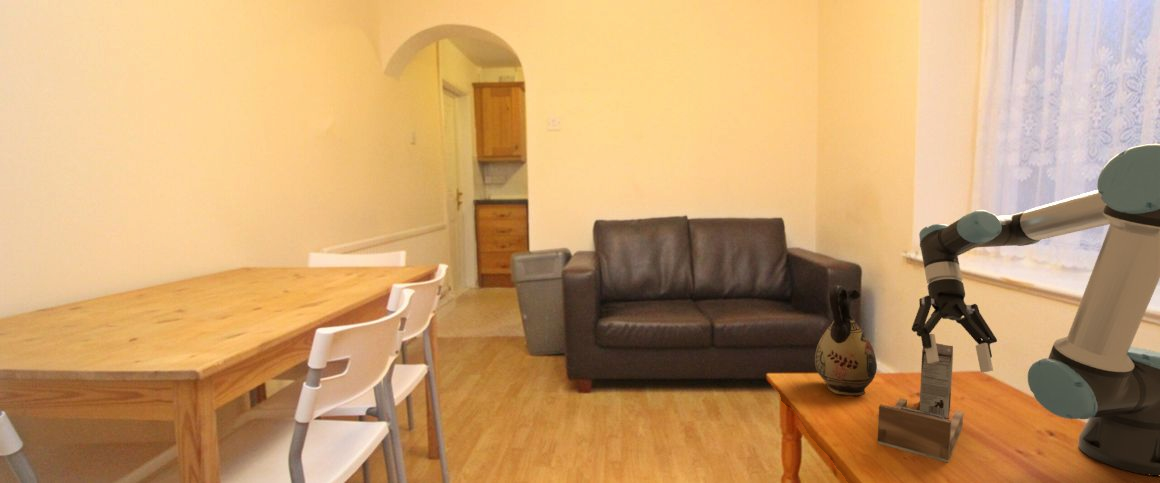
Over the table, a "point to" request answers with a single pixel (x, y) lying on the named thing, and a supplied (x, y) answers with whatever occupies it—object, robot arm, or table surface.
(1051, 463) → the table surface
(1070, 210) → the robot arm
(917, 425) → the wooden tray
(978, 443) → the table surface
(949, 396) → the coffee box
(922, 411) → the pusher
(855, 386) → the ceramic jug
